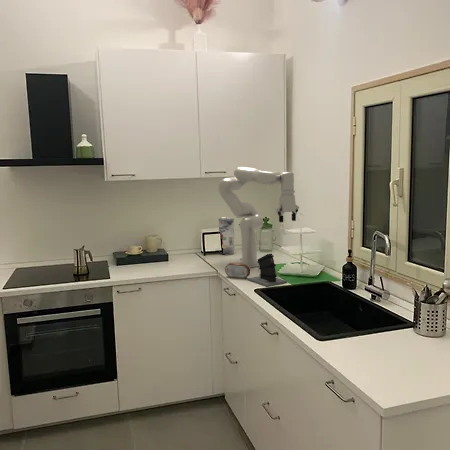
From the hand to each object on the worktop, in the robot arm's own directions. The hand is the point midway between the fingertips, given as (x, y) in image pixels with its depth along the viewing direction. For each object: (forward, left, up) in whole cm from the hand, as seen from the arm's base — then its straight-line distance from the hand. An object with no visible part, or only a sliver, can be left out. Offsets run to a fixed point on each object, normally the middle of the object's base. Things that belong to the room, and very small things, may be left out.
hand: (287, 221), depth 284 cm
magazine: (+12, -25, -29) cm, 40 cm away
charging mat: (+12, -25, -30) cm, 41 cm away
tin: (-5, -33, -31) cm, 45 cm away
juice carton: (-67, -1, -31) cm, 74 cm away
